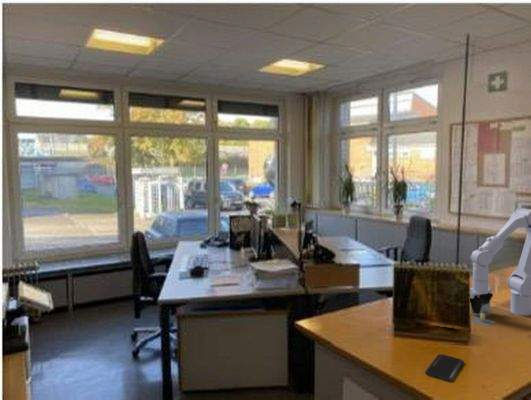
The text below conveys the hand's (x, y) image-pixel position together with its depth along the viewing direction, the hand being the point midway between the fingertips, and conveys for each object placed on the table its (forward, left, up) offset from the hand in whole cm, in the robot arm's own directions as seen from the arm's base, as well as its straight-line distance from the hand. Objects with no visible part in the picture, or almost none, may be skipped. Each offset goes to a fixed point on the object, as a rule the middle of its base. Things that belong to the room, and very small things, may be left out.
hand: (479, 311), depth 169 cm
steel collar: (0, 0, -1) cm, 1 cm away
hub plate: (+7, +5, -2) cm, 9 cm away
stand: (0, 0, -2) cm, 2 cm away
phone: (+51, +17, -2) cm, 53 cm away
